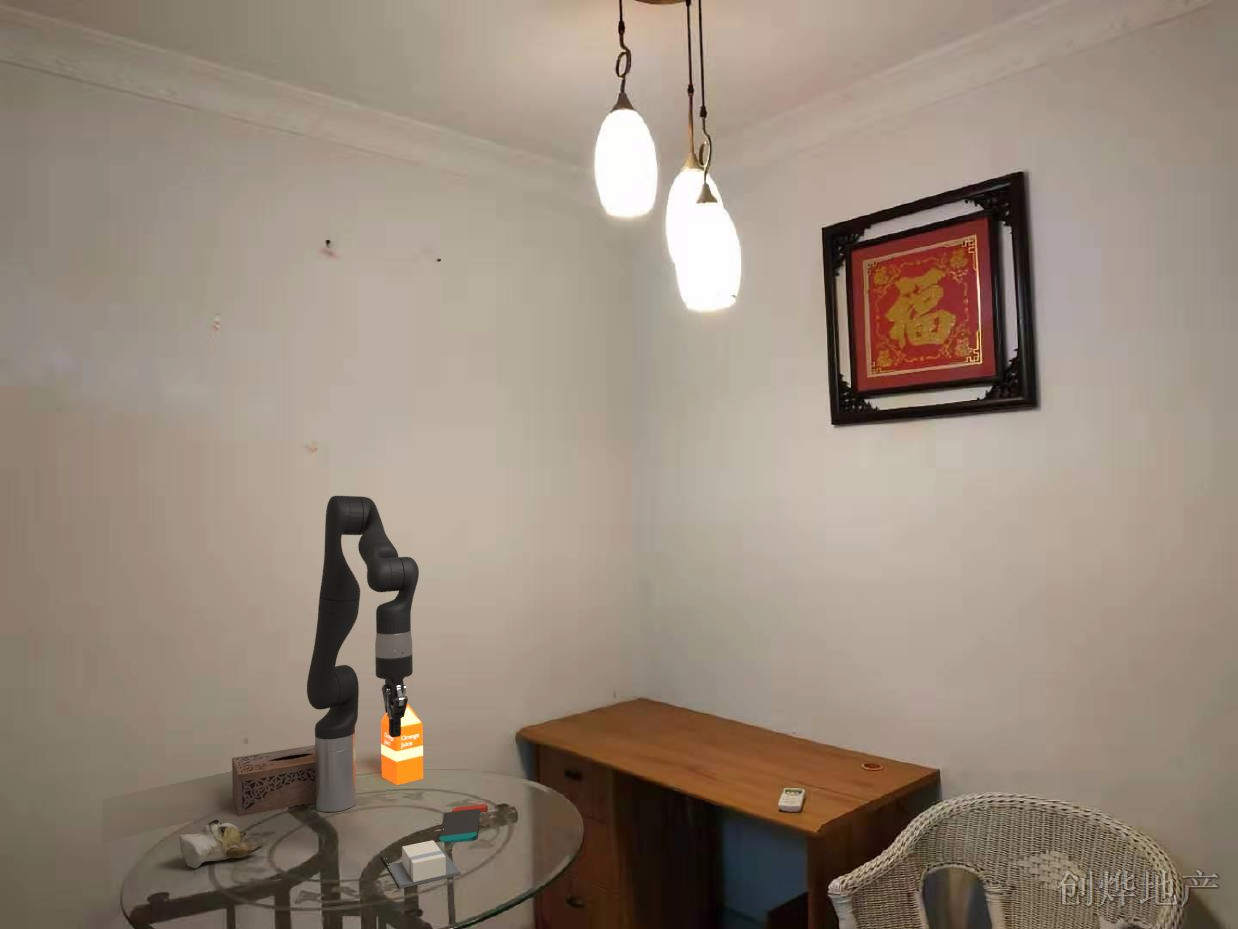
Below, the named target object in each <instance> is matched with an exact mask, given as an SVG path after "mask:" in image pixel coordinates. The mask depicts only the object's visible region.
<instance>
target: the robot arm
mask: <svg viewBox="0 0 1238 929" xmlns="http://www.w3.org/2000/svg"><path fill="white" fill-rule="evenodd" d="M324 524H325V527H324V528H325V529H324V531H325V532H324V552H323V553H324V555H323V556H324V557H323V564H322V565H323V567H322V575H321V584H320V591H319V596H318V597H319V599H318V606H317V607H318V608H317V610H318V611H317V621H316V622H317V623H316V630H315V631H316V632H315V638H314V645H313V651H312V656H311V662H310V666H309V669H308V670H309V671H308V676H307V682H306V695H307V700H308V702H309V705H310V706H312V708H314V709H315V710H320V711H321V710H326V709H329V710H328V711H327V712H326V714H325V715H324V716H323V717H322V718H321V719H320V720H318V721H317V722H316V723H315V726H314V745H315V771H316V802H315V809H316V810H317V811H320V812H324V813H331V812H333V813H334V812H335V813H336V812H341V811H345V810H349V809H350V808H353V807H354V806H355V805H356V803H357V802H356V801H357V796H356V793H357V790H356V788H357V787H356V786H357V784H356V775H357V774H356V724H357V721H358V716H359V695H360V694H359V692H360V689H359V680H358V679H359V678H358V676H357V673H356V672H355V670H354V668H353V667H351V666H350V665H348V664H340V665H337V666H336V664H337V658H338V655H339V652H340V651H341V650H340V649H341V648H342V645H343V644H344V642H345V641H346V639H347V637H348V636H349V634H350V632H351V631H352V629H353V628H354V626H355V623H356V621H357V618H358V615H359V611H360V610H359V609H360V601H361V600H360V599H361V588H360V584H359V581H358V580H357V577H356V576H355V574H354V573H353V571H352V569H351V567H350V566H349V564H348V561H347V559H346V557H345V555H344V551H343V547H342V546H343V545H342V536H360V538H359V539H358V540H359V541H358V544H357V545H358V546H357V548H358V553H359V555H360V558H361V560H362V561H363V562H364V564H365V566H366V569H367V570H366V580H367V581H366V583H367V585H368V587H369V588H370V590H373V591H374V592H377V593H389V592H398V593H397V595H396V597H395V598H394V599H392V600H390V601H386V602H383V603H381V604H379V605H378V606H377V607H376V610H375V619H376V620H375V623H376V624H375V625H376V627H375V628H376V629H375V632H376V635H375V642H374V644H375V645H374V646H375V648H374V650H375V651H374V653H375V654H374V658H375V663H374V664H375V677H376V678H377V679H382V680H384V684H383V685H382V686H381V687H382V688H381V692H382V696H383V704H384V711H385V713H387V716H388V718H389V735H390V736H391V737H392V738H394V737H399V736H401V718H402V717H404V715H405V711H406V706H407V704H408V700H409V698H408V696H407V695H406V693H407V686H406V684H405V683H404V679H405V678H409V677H410V676H412V675H413V673H414V672H413V671H414V670H413V668H414V667H413V662H414V661H413V638H412V637H413V636H412V628H411V625H412V624H411V623H412V622H411V621H412V619H411V615H412V614H411V613H412V606H413V599H414V595H415V592H416V589H417V586H418V582H419V578H420V572H419V571H420V570H419V566H418V564H417V562H416V560H415V559H414V558H413V557H411V556H399V553H398V550H397V548H396V547H395V546H394V544H393V543H392V542H391V540H390V538H389V537H388V535H387V534H386V530H385V528H384V525H383V522H382V518H381V515H380V513H379V510H378V508H377V505H376V503H375V502H374V500H373V499H372V498H370V497H367V496H360V495H359V496H358V495H356V496H355V495H353V496H352V495H333V496H331V497H330V498H329V500H328V501H327V506H326V511H325V522H324Z"/></svg>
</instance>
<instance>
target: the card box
mask: <svg viewBox="0 0 1238 929" xmlns="http://www.w3.org/2000/svg"><path fill="white" fill-rule="evenodd" d="M436 843H437V842H435V841H434V840H428V841H423V842H419V843H413V844H408V845H403V846H401V850H402V865H403V866H404V868H405V869H406V871H407V873H408V874H409V876H410V878H411V879H412V881H413V882H416V881H421V880H425V879H430V878H434V877H439V876H443V875H446V857H445V855H444V854H443V852H442V851H441V850H440V849H439V847H438V846H437V845H436Z"/></svg>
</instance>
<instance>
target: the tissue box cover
mask: <svg viewBox="0 0 1238 929" xmlns="http://www.w3.org/2000/svg"><path fill="white" fill-rule="evenodd" d="M231 767H232V768H231V769H232V770H231V771H232V772H231V773H232V777H231V778H232V780H231V781H232V782H231V783H232V789H231V790H232V799H233V802H234V803H233V804H234V806H235V809H236V812H237V815H238V817H243V816H248V815H255V814H258V813H264V812H265V813H266V812H270V811H274V810H280V809H281V810H282V809H286V808H292V807H296V806H295V805H298V806H303V805H308V804H313V803H316V771H315V744H314V745H307V746H300V747H295V748H294V747H293V748H287V749H282V750H275V751H269V752H261V753H255V754H249V755H243V756H237V757H232V758H231ZM302 804H303V805H302Z"/></svg>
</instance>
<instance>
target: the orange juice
mask: <svg viewBox="0 0 1238 929" xmlns="http://www.w3.org/2000/svg"><path fill="white" fill-rule="evenodd" d="M380 732H381V733H380V735H381V736H380V737H381V738H380V739H381V745H380V749H381V750H380V752H381V753H380V754H381V777H382V778H383V779H385V780H387V781H389V782H391V783H392V784H394V785H396V786H398V785H402V784H406V783H410V782H413V781H417V780H421V779H424V745H423V744H424V743H423V740H424V738H423V722H422V721H421V720H420V718H419V717H418V716H417V713H415V712H414V710H413V709H412V707H411V706H410V705H409V703H407V706H406V711H405V715H404V717H402V718H401V736H399V737H394V738H392V737H391V736H390V735H389V718H388V716H387V713H386V712H385V714H384V716H383V717H382V719H381V721H380Z"/></svg>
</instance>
